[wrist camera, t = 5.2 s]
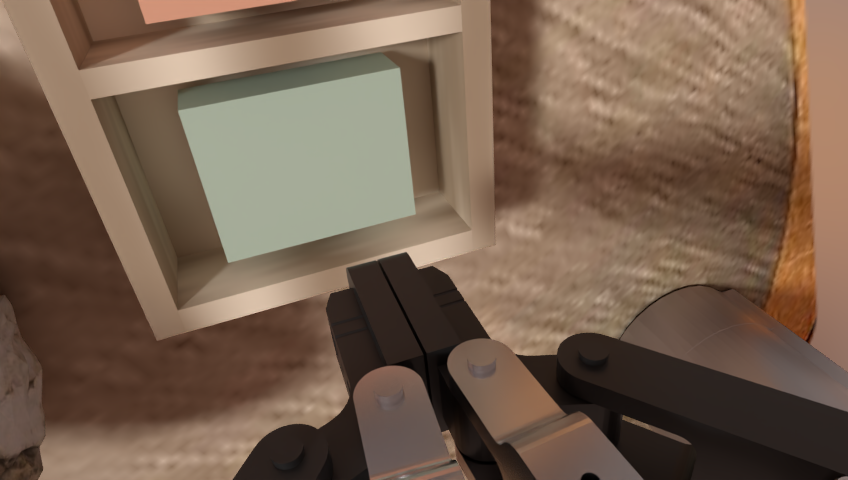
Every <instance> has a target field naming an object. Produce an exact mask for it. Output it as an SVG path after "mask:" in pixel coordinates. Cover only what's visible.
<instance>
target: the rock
mask: <svg viewBox="0 0 848 480" xmlns="http://www.w3.org/2000/svg"><path fill="white" fill-rule="evenodd" d="M44 437H45V416H44V411H43V407H42V367H41V365H40V363H39V361H38V359H37V358H36V356H35V355H34V353H33V352H32V351H31V349H30V348H29V347H28V345H27V344H26V343H25V341H24V340H23V339H22V337H21V334H20V331H19V328H18V325H17V322H16V318H15V314H14V310H13V306H12V305H11V303H10V302H9V300H8V299H7V297H6V296H5V295H3V296H0V480H38V478H39V477H40V475H41V473H42V471H43V466H42V460H41V455H40V449H39V447H40V445H41V443H42V441H43V439H44Z"/></svg>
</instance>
